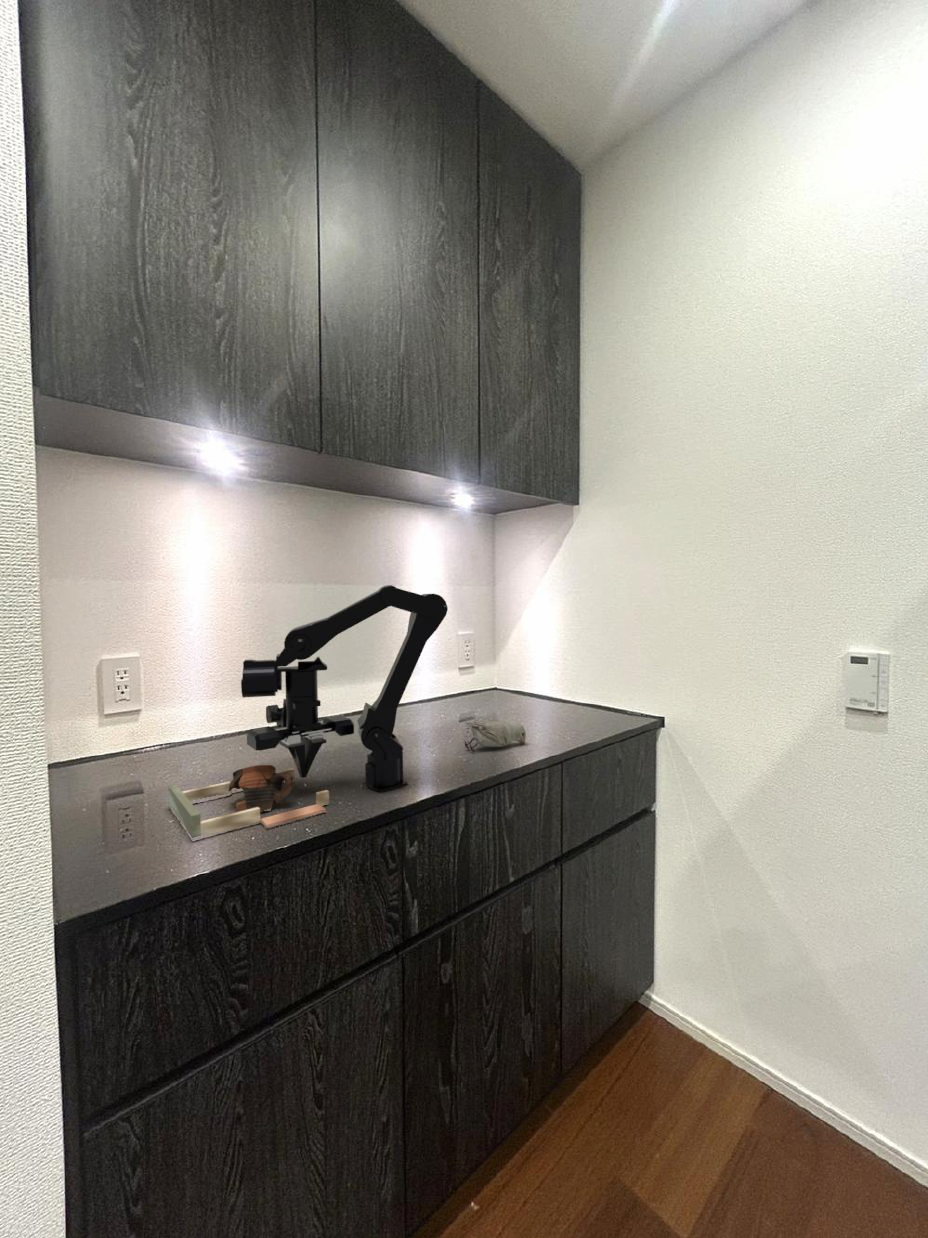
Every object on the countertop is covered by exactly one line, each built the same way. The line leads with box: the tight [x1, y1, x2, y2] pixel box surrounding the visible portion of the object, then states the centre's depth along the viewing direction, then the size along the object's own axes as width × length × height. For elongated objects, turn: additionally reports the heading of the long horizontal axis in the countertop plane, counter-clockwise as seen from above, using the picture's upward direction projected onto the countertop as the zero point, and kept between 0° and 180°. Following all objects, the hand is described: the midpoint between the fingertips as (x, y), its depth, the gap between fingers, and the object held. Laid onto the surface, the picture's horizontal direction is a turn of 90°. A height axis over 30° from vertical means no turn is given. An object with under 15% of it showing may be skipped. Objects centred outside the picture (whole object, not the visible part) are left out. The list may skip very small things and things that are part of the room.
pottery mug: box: [228, 764, 295, 813], centre depth 97 cm, size 12×10×8 cm
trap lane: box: [168, 767, 330, 838], centre depth 96 cm, size 22×23×4 cm
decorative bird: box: [463, 720, 526, 754], centre depth 131 cm, size 5×16×8 cm, turn 115°
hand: (303, 777), depth 102 cm, fingers closed
